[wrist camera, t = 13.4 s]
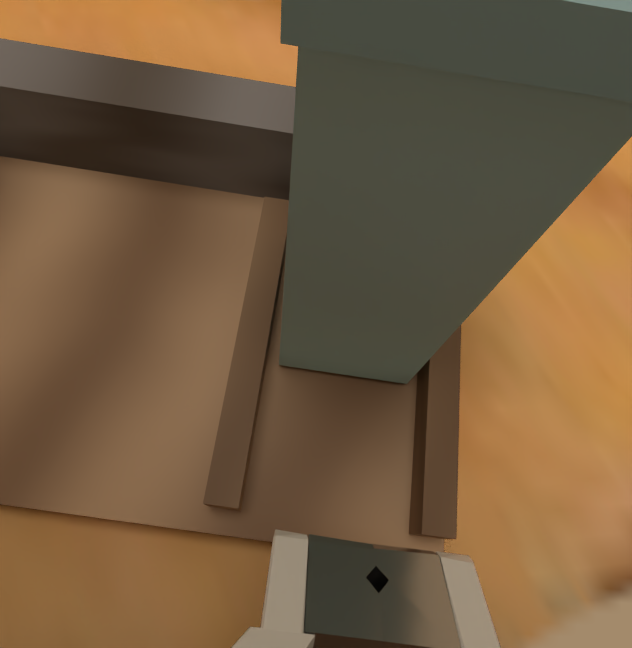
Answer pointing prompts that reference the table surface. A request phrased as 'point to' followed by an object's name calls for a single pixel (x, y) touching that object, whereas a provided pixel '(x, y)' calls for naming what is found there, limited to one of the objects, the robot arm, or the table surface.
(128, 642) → the table surface
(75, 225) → the board
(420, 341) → the light blue tall block
